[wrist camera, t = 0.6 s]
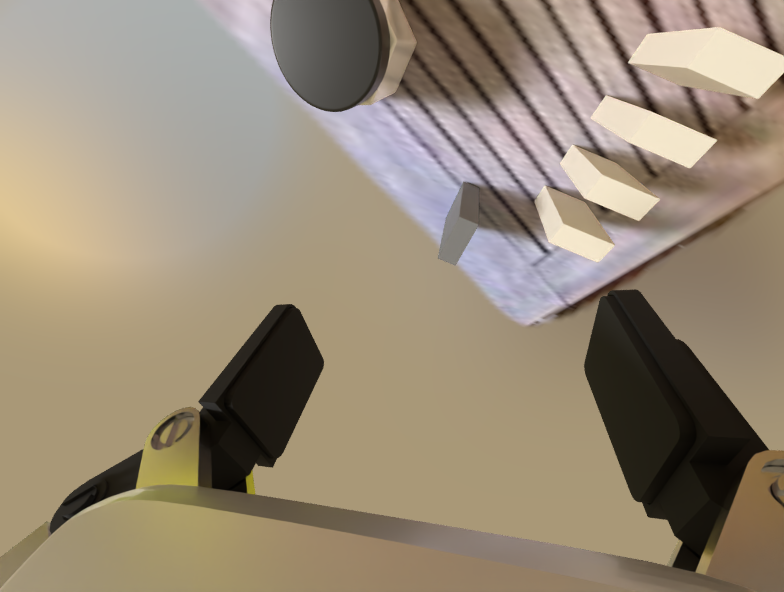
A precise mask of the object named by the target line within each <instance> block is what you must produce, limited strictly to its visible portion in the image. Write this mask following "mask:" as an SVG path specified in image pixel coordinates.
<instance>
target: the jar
mask: <svg viewBox="0 0 784 592" xmlns="http://www.w3.org/2000/svg"><path fill="white" fill-rule="evenodd" d="M270 28H271V38H272V44H273V49H274V53H275V56H276V59H277V62H278V65H279V67H280V69H281V71H282V73H283V75H284V77H285V79H286V80H287V82H288V83H289V85H290V86H291V87H292V89H293V90H294V91H295V92H296V93H297V94H298V95H299V96H300V97H301V98H302V99H303V100H304V101H306V102H307V103H308V104H310V105H312V106H314V107H316V108H318V109H321V110H324V111H330V112H341V111H345V110H348V109H350V108H353V107H355V106H357V105H372V104H374V103H376V102H378V101H380V100H382V99H384V98H386V97H388V96H390V95H392V94H394V93H395V92H396V91H397V88H398V86H399V84H400V81H401V79H402V77H403V74H404V72H405V70H406V67H407V65H408V63H409V60H410V58H411V56H412V53H413V51H414V49H415V47H416V44H417V42H416V39H415V37H414V35H413V32H412V30H411V28H410V26H409V23H408V21H407V19H406V17H405V14H404V12H403V10H402V8H401V5H400V3H399V1H398V0H273V3H272V9H271V19H270Z"/></svg>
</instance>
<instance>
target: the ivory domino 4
mask: <svg viewBox="0 0 784 592" xmlns="http://www.w3.org/2000/svg"><path fill="white" fill-rule="evenodd" d="M534 202H535V205H536V208H537V210H538V213H539V216H540V219H541V222H542V224H543V227H544V230H545V233H546V235H547V238H548V241H549V243H552V244H554V245H557V246H559V247H562V248H564V249H566V250H569V251H571V252H574V253H576V254H578V255H581V256H583V257H586V258H588V259H591V260H593V261H595V262H599V261H600V260H601V259H602V258H603V257H604V256H605V255H606V254H607V253H608V252H609V251H610V250H611V249H612V248H613V247H614V246H615V244H614V243H613V242H612V240H611V239H610V237H609V236H608V234H607V233H606V231H605V230H604V229H603V227H602V226H601V224H600V223H599V221H598V220H597V218H596V217H595V216H594V214H593V213H592V211H591V210H590V208H589V207H588V206H587V204H586V203H585V202H584V201H581V200H579V199H576V198H574V197H572V196H569V195H567V194H565V193H562V192H560V191H557V190H555V189H553V188H550V187H548V186H544V187H543V189H542V190H541V192H540V193H539V195H538V196H537V198H536V199H535V201H534Z"/></svg>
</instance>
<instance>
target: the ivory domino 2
mask: <svg viewBox="0 0 784 592" xmlns="http://www.w3.org/2000/svg"><path fill="white" fill-rule="evenodd" d="M591 119H592V120H594V121H595V122H597V123H599V124H600V125H602V126H603V127H605V128H607V129H608V130H610V131H611V132H613V133H615V134H616V135H618V136H619V137H621V138H623V139H624V140H626V141H627V142H629V143H632V144H634V145H636V146H639V147H641V148H643V149H646V150H648V151H650V152H653V153H655V154H657V155H660V156H662V157H664V158H667V159H669V160H671V161H674V162H676V163H678V164H681V165H683V166H685V167H688V168H691V167H692V166H693V165H694V164H695V163H696V162H697V161H698V160H699V159H700V158H701V157H702V156H703V155H704V154H705V153H706V152H707V151H708V150H709V149H710V148H711V147H712V146H713V144H714V143H715V142H716V141H717V140H716V139H714V138H711V137H709V136H707V135H704V134H702V133H700V132H697V131H695V130H693V129H690V128H688V127H686V126H683V125H681V124H679V123H677V122H674V121H672V120H670V119H667V118H665V117H663V116H660V115H658V114H656V113H653V112H651V111H648V110H646V109H643V108H640V107H637V106H635V105H632V104H629V103H626V102H624V101H621V100H618V99H615V98H613V97H610V96H607V95H606V96H605V97H604V99H603V100H602V102H601V103H600V105H599V106H598V108H597V109H596V111H595V112H594V114H593V115H592V117H591Z"/></svg>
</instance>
